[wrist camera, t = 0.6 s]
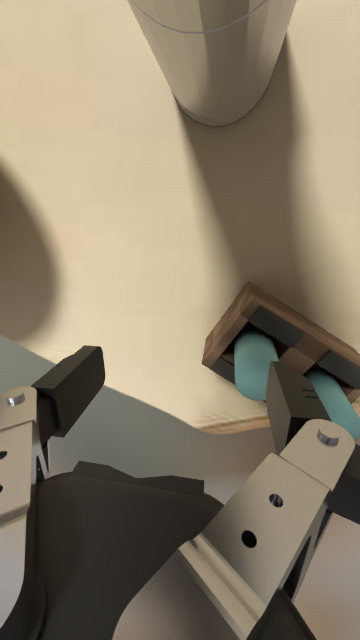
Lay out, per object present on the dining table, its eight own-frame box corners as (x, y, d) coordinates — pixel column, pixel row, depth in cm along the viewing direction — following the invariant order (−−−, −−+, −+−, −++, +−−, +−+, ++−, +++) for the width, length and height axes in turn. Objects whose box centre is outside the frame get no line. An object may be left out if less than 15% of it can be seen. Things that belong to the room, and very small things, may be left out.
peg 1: (249, 323, 26) (254, 352, 20) (281, 343, 26) (295, 377, 21) (226, 351, 27) (225, 384, 22) (257, 369, 28) (263, 407, 22)
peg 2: (314, 363, 26) (335, 402, 21) (345, 383, 26) (374, 426, 21) (287, 388, 28) (301, 430, 23) (317, 406, 28) (337, 452, 23)
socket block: (248, 281, 29) (253, 299, 23) (354, 348, 30) (383, 382, 24) (206, 338, 33) (201, 365, 27) (301, 396, 34) (315, 434, 28)
